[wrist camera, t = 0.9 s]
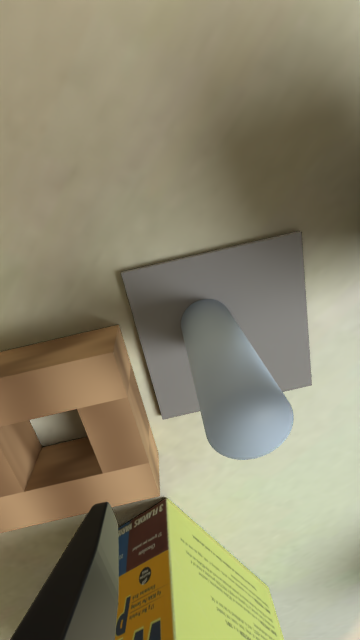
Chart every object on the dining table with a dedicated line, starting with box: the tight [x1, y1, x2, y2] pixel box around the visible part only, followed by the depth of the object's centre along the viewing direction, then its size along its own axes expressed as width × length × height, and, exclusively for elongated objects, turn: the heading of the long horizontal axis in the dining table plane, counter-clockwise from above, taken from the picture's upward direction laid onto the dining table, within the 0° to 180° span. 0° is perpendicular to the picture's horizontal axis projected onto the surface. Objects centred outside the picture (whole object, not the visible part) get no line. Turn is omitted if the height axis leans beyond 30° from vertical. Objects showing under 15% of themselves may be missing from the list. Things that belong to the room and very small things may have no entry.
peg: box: [181, 299, 293, 460], centre depth 15 cm, size 3×3×9 cm
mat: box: [121, 231, 312, 419], centre depth 20 cm, size 10×10×1 cm
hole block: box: [0, 325, 160, 533], centre depth 20 cm, size 10×10×4 cm
